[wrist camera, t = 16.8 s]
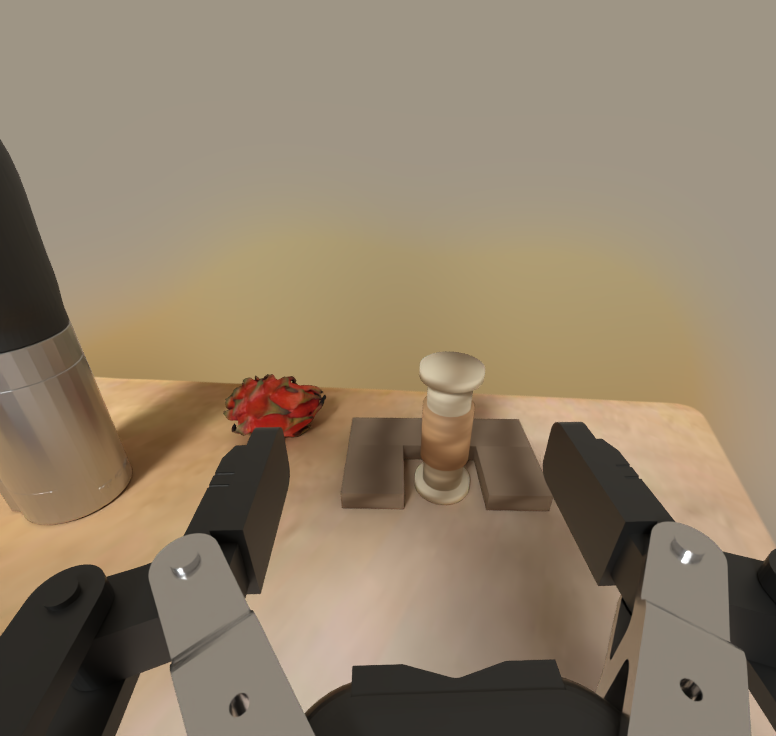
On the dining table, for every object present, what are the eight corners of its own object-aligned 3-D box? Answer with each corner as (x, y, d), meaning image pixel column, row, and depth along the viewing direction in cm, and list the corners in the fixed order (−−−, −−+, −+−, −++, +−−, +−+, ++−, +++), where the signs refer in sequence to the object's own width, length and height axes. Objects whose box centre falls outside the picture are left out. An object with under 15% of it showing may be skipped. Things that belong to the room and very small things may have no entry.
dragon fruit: (224, 449, 48) (322, 439, 52) (222, 452, 40) (337, 440, 45) (222, 380, 49) (317, 376, 54) (220, 370, 41) (332, 366, 46)
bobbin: (415, 504, 39) (421, 382, 32) (413, 464, 43) (418, 351, 37) (473, 505, 39) (491, 383, 32) (464, 465, 43) (478, 351, 37)
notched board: (341, 508, 38) (340, 493, 37) (353, 430, 49) (352, 417, 48) (549, 510, 38) (553, 496, 37) (515, 432, 48) (518, 419, 47)
